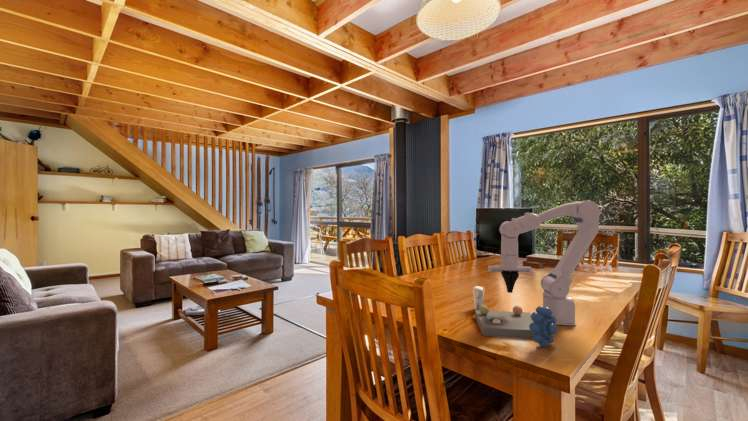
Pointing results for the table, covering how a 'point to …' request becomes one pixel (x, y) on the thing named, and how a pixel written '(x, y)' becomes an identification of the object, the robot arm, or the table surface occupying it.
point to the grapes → (543, 326)
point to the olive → (484, 309)
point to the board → (505, 324)
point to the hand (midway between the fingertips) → (509, 292)
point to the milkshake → (478, 297)
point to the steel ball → (496, 321)
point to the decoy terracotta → (517, 310)
